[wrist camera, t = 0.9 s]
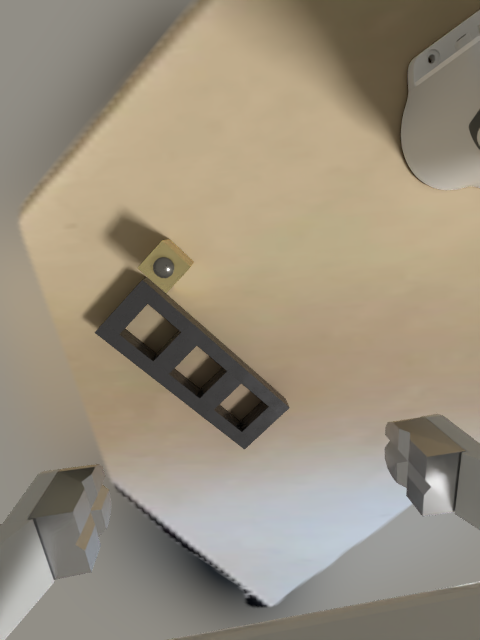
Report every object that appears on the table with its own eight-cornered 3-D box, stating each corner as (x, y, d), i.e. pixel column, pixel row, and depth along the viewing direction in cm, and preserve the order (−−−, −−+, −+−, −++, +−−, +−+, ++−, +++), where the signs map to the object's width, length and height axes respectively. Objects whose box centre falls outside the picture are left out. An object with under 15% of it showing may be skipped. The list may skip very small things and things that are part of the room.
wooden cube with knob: (169, 239, 39) (161, 240, 32) (193, 261, 40) (190, 267, 33) (148, 262, 39) (136, 268, 33) (172, 284, 40) (165, 294, 34)
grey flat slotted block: (146, 276, 40) (142, 279, 37) (285, 398, 46) (289, 407, 44) (101, 326, 41) (94, 332, 38) (242, 438, 47) (244, 449, 45)
